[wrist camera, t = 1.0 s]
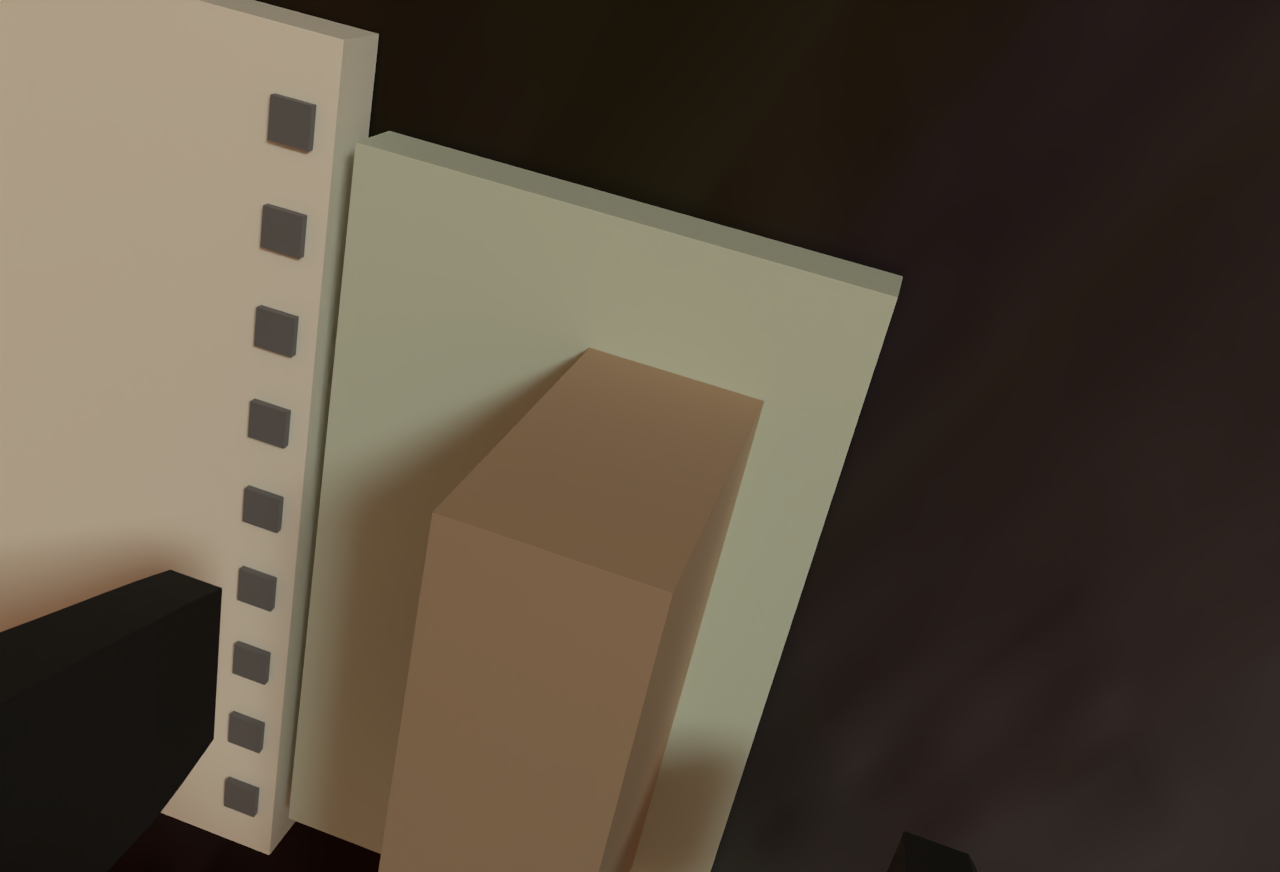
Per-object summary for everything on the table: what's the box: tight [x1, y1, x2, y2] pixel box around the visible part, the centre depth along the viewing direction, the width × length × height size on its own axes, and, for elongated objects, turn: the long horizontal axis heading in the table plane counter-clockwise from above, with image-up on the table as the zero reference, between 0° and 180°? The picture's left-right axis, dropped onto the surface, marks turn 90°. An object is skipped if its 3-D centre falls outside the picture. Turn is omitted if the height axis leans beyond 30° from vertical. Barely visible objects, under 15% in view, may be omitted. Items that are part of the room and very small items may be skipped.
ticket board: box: [0, 0, 379, 855], centre depth 16 cm, size 12×7×1 cm, turn 168°
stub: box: [288, 131, 903, 872], centre depth 13 cm, size 10×6×5 cm, turn 168°
